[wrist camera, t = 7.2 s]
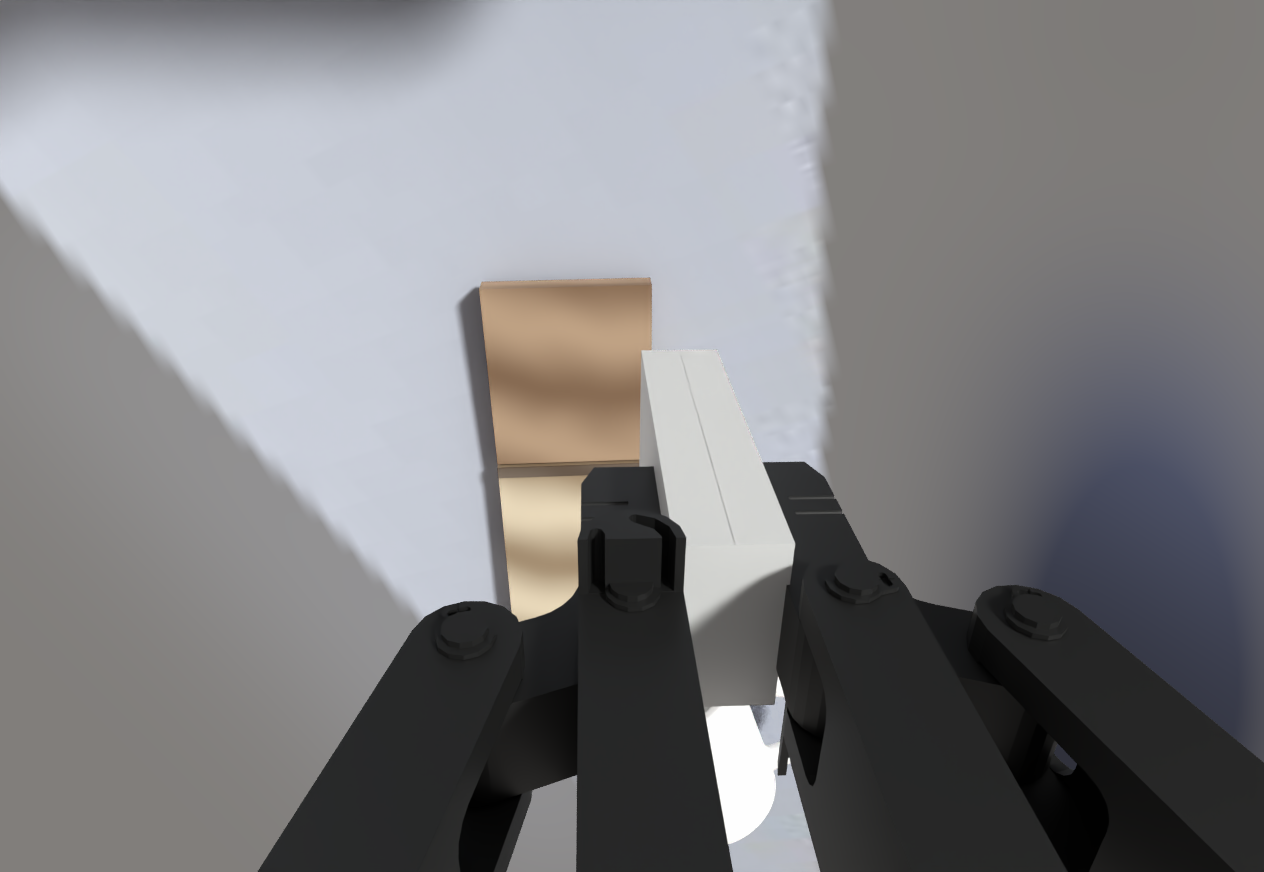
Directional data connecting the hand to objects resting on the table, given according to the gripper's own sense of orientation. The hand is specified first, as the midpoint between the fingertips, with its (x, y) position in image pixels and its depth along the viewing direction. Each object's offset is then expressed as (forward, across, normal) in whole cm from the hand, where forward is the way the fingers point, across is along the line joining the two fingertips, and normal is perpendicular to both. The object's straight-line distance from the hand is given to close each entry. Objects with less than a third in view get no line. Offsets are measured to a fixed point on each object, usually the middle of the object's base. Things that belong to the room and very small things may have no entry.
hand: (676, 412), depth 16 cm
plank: (+25, -3, -10) cm, 27 cm away
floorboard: (+25, -3, -21) cm, 33 cm away
